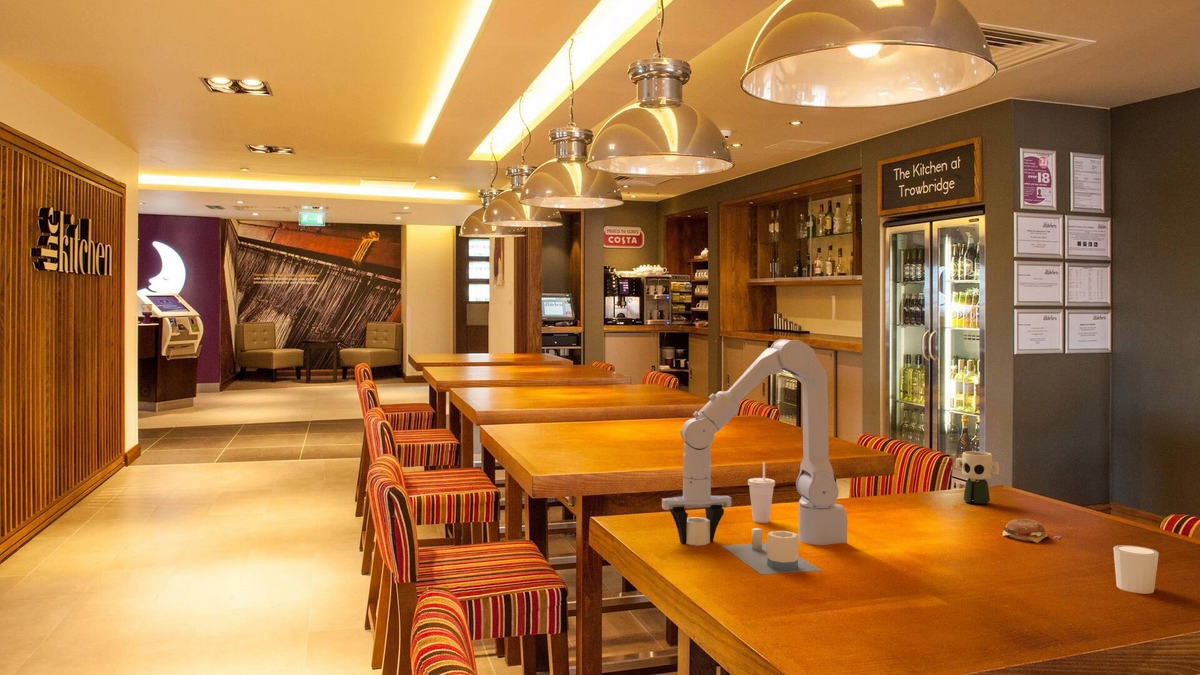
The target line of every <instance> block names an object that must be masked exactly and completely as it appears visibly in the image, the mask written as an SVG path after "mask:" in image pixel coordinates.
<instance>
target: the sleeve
mask: <svg viewBox="0 0 1200 675" xmlns="http://www.w3.org/2000/svg"><path fill="white" fill-rule="evenodd" d="M686 539H687V540H686V544H685V545H689V546H696V547H697V546H707V545H708V544H710V520H708V519H707V518H706V517H699V516H694V517H687V525H686Z"/></svg>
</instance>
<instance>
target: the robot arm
mask: <svg viewBox="0 0 1200 675" xmlns="http://www.w3.org/2000/svg"><path fill="white" fill-rule="evenodd" d="M784 371H785V372H787V373H789V374H791V375H792V377H794V378H795V379H796V380H797V381H799V382H800V383H801V390H802V391H801V392H802V393H801V394H802V395H801V398H802V400H801V401H802V405H801V406H802V407H801V408H802V443H803V444H802V446H803V447H802V450H803V451H802V453H803V456H802V460H801V462H800V465H799V467H800V468H799V474H798V476H797V478H796V481H795V486H796V490H797V492H798V494H800V496H801V497H800V499H799V500H798V542H801V543H804V544H806V545H807V544H808V545H813V546H815V545H816V546H827V545H834V544H848V522H849V521H848V514H847V511H846V509H845V507H844V506H843V505H842V504H839V503H838V504H837V503H835V502H836V501H837V499H838V497H839V493H840V492H839V491H840V489H839V486H838V484H837V482H836V481H835V477H834V476H835V474H834V473H835V472H834V469H833V467H832V464H831V462H830V458H829V457H830V455H829V454H830V452H829V450H830V448H829V402H828V400H829V399H828V398H829V397H828V395H829V394H828V393H829V392H828V385H829V384H828V374H827V371H826V370H825V369H824V366H823V364H821V362H820V360H819V359H818V357H817V356H816V352H815V349H813V348H812V347H811V346H809V345H808V344H806V343H805V342H803V341H802V340H799V339H792V340H790V339H787V338H780V339H778V340H775V341H773V343H772V344H771V346H770V347H767V348H766V349H764V350H763V351H762V353H760V355H759V356H757V358H756V359H755V360H754V361H753V362H752V364H750V365H749V367H748V368H747V369H746V370H745V371H744V372H743V373H742V375H740V376H739V378H737V380H736V381H735V382H734V383H733V384H732V385H731V386H730V387H729V389H728V390H725V391H724V390H720V391H717V392H716V393H711V394H710V395H709V396H708V399H709V400H708V401H707V402H706V404H705V405H704V406H702V408H701V409H699V411H694V413H693V416H694V417H693V418H690V419H688V420H686V421H685V422H684V423H683V425H682V428H681V430H680V436H681V439H682V440H683V441H684V442H683V455H682V496H674V497H667V498H661V508H662V509H663V510H665V511H667V510H668V511H669V512H670V514H671V516H672V518H673V520H674V523H675V526H676V529H677V533H678V537H679V543H680V544H682V545H687V544H686V540H687V539H686V525H687V518H689V517H688V516H689V513H688V512H687V511H686V509H690V508H691V509H693V508H694V509H695V508H704V509H705V518H707V519H708V520H710V543H714V539H715V534H716V531H717V528H718V525H719V523H720V521H721V519H722V517H723V516H724V514H725V513H724V512H725V509H724V508H723V507H727V508H728V507H729V508H730V507H732V497H731V496H729V495H712V494H711V493H712V492H711V490H712V488H711V484H712V482H711V480H712V478H711V476H712V473H711V472H712V470H711V469H712V459H711V458H712V455H711V445H712V444H713V442H714V439H715V434H716V433H719V431H721V429H723V428H724V427H725V425H726V424H727V423H728V422H730V420H731V419H732V418H733V417H734V416H735V415H736V414H737V413H738V412H739V411H740V410H739V408H740V402H741V400H743V399H744V398H745V397H746V396H747V395H749V393H750V392H751V391H752V390H753V389H755V388H756V386H759V384H760V383H761V382H762V381H763V380H764V379H765V378H766V377H768V376H771V375H776V374H782V373H784ZM710 543H709V544H710Z"/></svg>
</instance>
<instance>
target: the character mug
mask: <svg viewBox="0 0 1200 675" xmlns="http://www.w3.org/2000/svg"><path fill="white" fill-rule="evenodd" d="M961 455H962V456H961V457H957V458H955V470H957V471H960V472H962V476H963V477H965V478H967V480H966V481H965V486H964V491H963V492H964V494H963V501H965V502H967V503H974V504H982V505H983V504H988V503H989V502H990V501H991V498H990V497H991V496H990V488H989V483H988V481H987V480H990V479H991V478H992V476H998V475H1000V464H999V462H997V461H993V454H992V453H991V452H986V451H979V450H978V451H973V450H972V451H971V450H969V451H963V452H962V454H961ZM961 463H962V465H961ZM993 466H994V470H993Z"/></svg>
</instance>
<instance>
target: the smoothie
mask: <svg viewBox="0 0 1200 675" xmlns="http://www.w3.org/2000/svg"><path fill="white" fill-rule="evenodd" d="M747 485H748V486H749V494H750V496H749V497H750V504H751V513H752V521H753V522H754V523H757V524H767V523H770V517H771V509H772V502H773V494H774V487H775V486H776V480H774V479H771V478H767V477H766V461H763V462H762V477H752V478H749V479H747Z"/></svg>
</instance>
